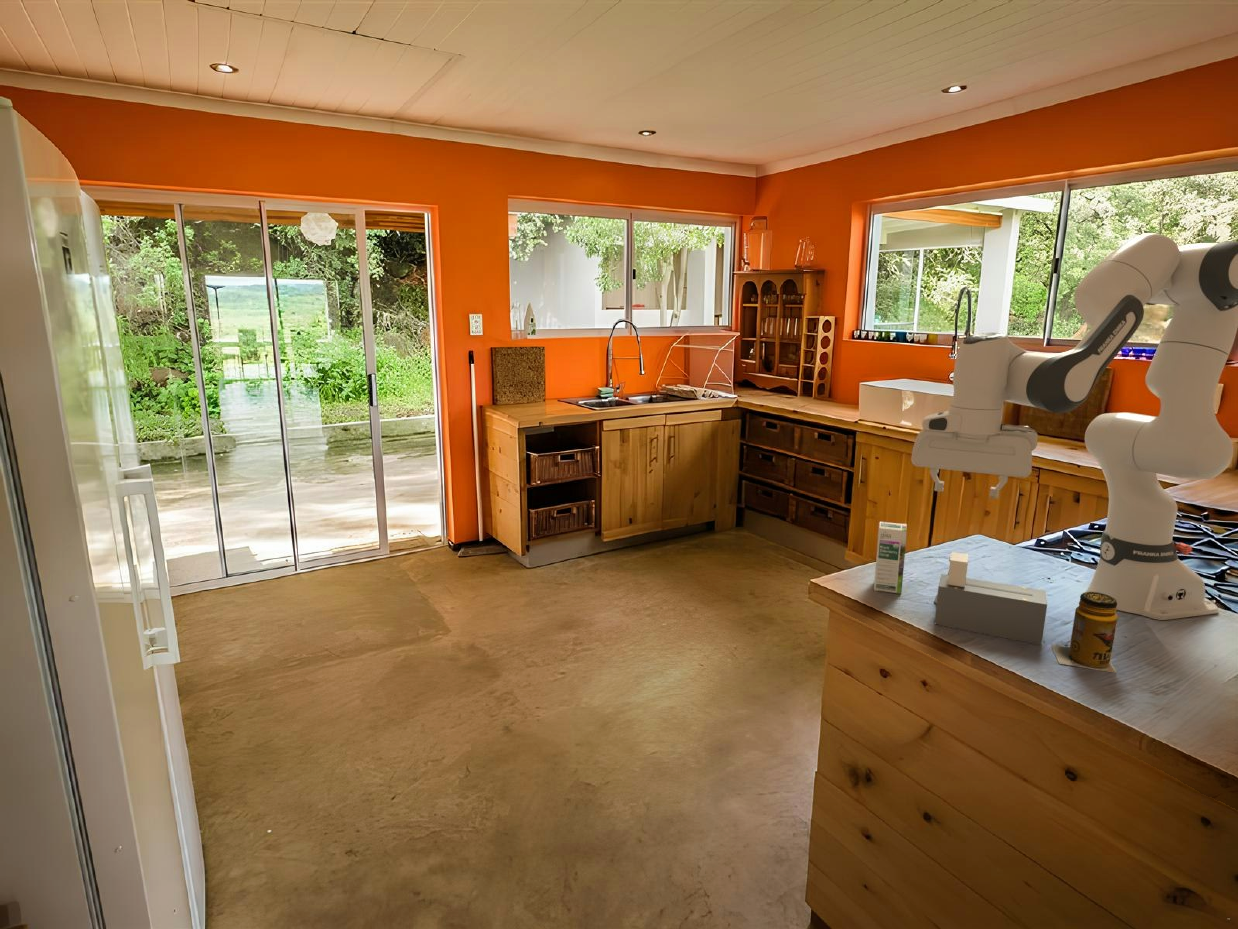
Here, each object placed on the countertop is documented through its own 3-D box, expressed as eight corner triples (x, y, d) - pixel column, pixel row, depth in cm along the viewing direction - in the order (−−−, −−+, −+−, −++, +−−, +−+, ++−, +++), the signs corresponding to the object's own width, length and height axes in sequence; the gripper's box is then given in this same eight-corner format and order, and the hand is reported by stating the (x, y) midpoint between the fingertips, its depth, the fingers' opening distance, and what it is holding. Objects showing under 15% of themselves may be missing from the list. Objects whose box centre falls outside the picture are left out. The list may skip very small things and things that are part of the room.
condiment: (1117, 673, 117) (1128, 608, 114) (1059, 664, 120) (1068, 600, 117) (1105, 653, 124) (1115, 591, 121) (1050, 645, 127) (1059, 584, 124)
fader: (947, 584, 133) (950, 560, 132) (949, 575, 138) (951, 551, 137) (964, 587, 132) (967, 562, 131) (966, 578, 136) (968, 554, 135)
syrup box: (873, 590, 151) (878, 527, 148) (874, 581, 156) (879, 519, 153) (901, 594, 149) (907, 530, 146) (901, 584, 154) (907, 522, 151)
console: (934, 624, 135) (938, 585, 133) (937, 610, 141) (941, 573, 139) (1041, 645, 127) (1047, 604, 125) (1039, 629, 133) (1045, 590, 131)
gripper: (1039, 424, 126) (1028, 497, 129) (918, 415, 135) (911, 483, 139) (1040, 429, 120) (1029, 505, 123) (914, 419, 130) (906, 490, 133)
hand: (965, 494), depth 131 cm, fingers open, 8 cm apart
